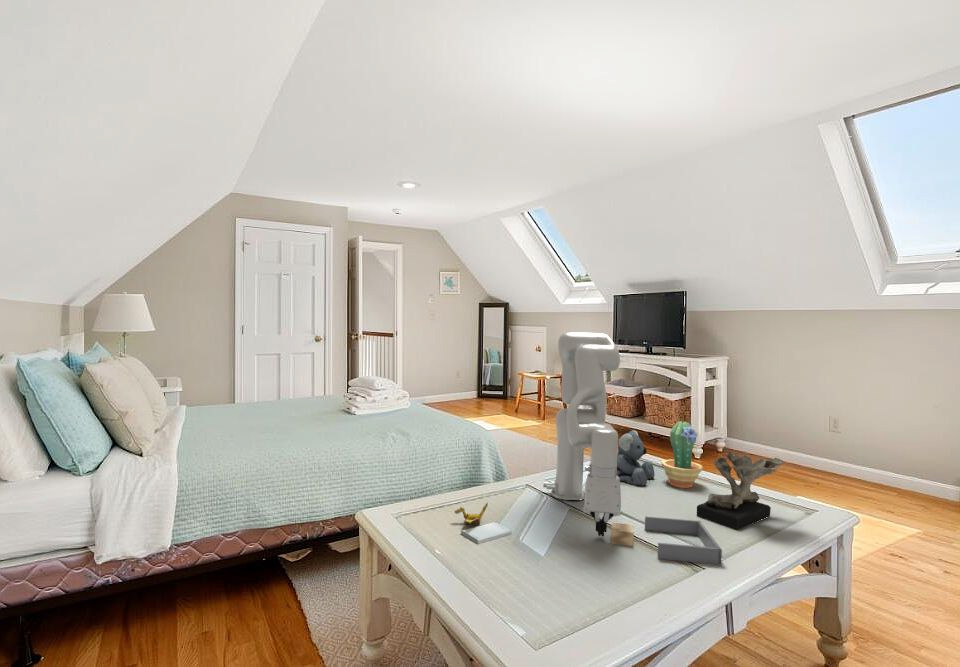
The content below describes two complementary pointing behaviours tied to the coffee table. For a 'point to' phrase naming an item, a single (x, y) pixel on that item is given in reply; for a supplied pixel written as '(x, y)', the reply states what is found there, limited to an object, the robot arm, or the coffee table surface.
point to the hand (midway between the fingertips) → (600, 533)
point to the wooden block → (622, 534)
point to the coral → (738, 493)
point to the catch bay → (685, 552)
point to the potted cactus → (682, 457)
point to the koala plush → (633, 460)
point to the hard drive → (486, 532)
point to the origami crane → (472, 515)
